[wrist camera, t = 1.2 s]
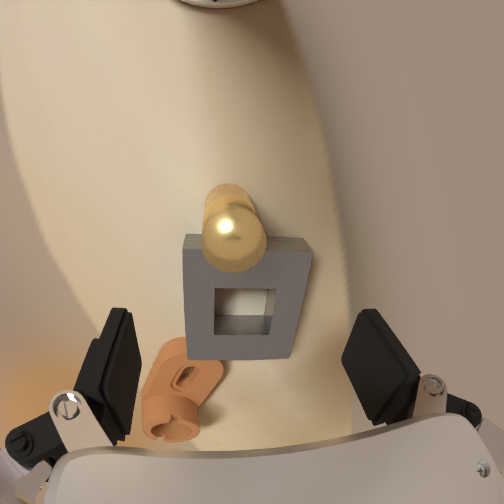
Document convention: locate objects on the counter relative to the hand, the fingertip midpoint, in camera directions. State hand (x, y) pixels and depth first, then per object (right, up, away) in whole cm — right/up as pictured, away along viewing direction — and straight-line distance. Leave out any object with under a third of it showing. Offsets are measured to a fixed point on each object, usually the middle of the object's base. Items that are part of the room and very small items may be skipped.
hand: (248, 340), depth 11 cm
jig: (-1, -1, +21) cm, 21 cm away
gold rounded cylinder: (-2, +8, +16) cm, 18 cm away
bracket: (-11, -14, +26) cm, 32 cm away
